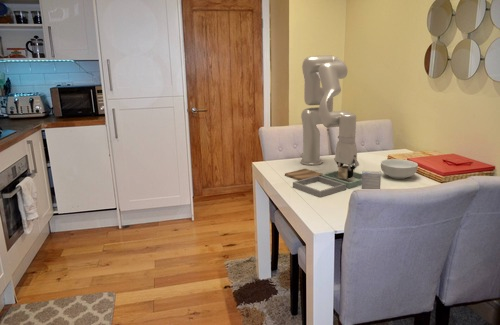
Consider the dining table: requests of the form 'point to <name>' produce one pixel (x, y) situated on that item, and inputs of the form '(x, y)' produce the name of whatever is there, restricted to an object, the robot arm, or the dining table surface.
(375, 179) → the medicine box
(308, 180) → the grey rectangular frame
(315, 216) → the dining table surface
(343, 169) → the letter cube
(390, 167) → the cereal bowl
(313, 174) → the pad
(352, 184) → the green tray
